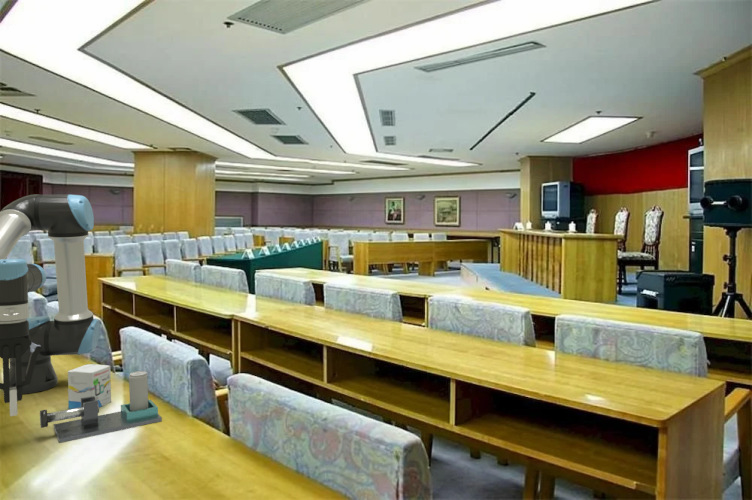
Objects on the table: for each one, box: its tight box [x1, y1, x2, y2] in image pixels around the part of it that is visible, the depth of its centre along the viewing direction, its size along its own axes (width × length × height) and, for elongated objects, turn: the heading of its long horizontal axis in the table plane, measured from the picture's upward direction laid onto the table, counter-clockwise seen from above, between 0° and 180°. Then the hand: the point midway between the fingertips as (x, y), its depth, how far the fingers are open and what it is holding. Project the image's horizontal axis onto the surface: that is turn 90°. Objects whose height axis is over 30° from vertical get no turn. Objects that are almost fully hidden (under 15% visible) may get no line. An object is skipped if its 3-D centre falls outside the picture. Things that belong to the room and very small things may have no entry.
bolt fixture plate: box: [53, 396, 163, 443], centre depth 149 cm, size 12×25×8 cm, turn 127°
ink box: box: [67, 363, 112, 409], centre depth 164 cm, size 8×8×12 cm
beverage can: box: [128, 370, 149, 412], centre depth 154 cm, size 5×5×12 cm
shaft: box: [39, 406, 100, 429], centre depth 143 cm, size 4×13×4 cm, turn 126°
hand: (13, 414), depth 136 cm, fingers closed
